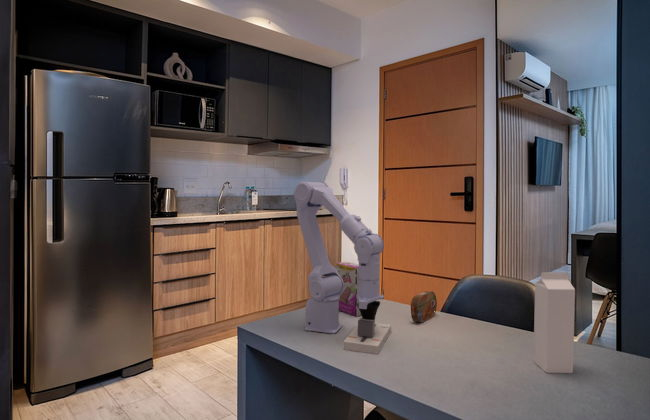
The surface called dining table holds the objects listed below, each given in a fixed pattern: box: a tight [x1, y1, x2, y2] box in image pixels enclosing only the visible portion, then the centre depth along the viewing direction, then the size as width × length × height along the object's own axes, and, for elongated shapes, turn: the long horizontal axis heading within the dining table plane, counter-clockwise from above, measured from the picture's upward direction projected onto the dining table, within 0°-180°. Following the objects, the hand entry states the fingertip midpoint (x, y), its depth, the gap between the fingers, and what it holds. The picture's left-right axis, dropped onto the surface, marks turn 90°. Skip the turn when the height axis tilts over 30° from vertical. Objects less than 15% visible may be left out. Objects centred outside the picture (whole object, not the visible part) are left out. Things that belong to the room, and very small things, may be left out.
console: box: [342, 322, 392, 355], centre depth 111 cm, size 9×18×2 cm, turn 160°
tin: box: [410, 290, 438, 324], centre depth 131 cm, size 15×3×8 cm, turn 142°
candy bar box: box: [335, 261, 362, 318], centre depth 138 cm, size 11×5×16 cm, turn 37°
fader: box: [357, 317, 376, 337], centre depth 109 cm, size 4×2×4 cm, turn 70°
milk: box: [533, 271, 576, 374], centre depth 94 cm, size 6×6×22 cm
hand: (368, 328), depth 111 cm, fingers closed
